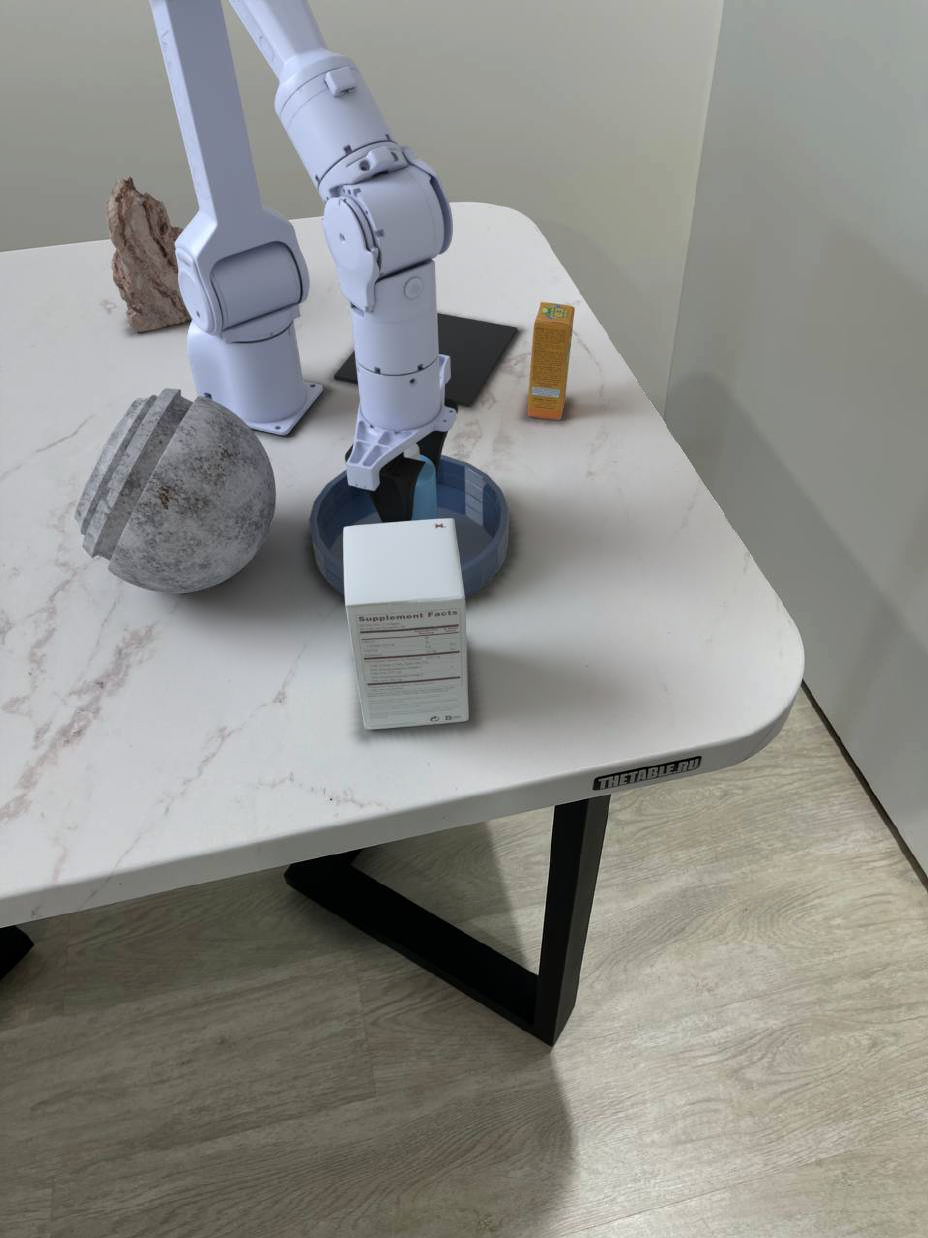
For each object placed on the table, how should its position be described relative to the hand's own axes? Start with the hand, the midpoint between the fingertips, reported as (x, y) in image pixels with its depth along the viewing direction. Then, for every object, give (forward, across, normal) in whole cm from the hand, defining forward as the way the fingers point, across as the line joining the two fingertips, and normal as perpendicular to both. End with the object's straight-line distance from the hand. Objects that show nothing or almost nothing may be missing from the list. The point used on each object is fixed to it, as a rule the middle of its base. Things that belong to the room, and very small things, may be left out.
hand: (408, 504), depth 79 cm
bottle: (+4, 0, 0) cm, 4 cm away
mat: (+4, +26, +9) cm, 28 cm away
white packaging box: (+4, -14, -6) cm, 16 cm away
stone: (+4, +25, +38) cm, 46 cm away
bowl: (+4, 0, 0) cm, 4 cm away
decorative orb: (+4, -8, +15) cm, 18 cm away
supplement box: (+4, +21, -5) cm, 22 cm away
